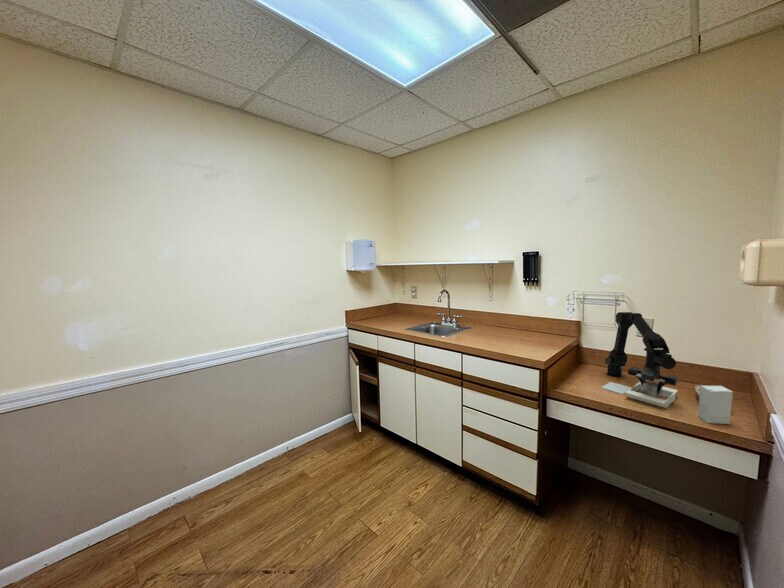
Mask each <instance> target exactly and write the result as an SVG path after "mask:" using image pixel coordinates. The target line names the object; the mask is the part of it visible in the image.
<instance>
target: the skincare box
mask: <svg viewBox="0 0 784 588" xmlns="http://www.w3.org/2000/svg"><path fill="white" fill-rule="evenodd" d="M733 393H734V392H733V391H732V390H730V389H729V388H726V387H725V386H723V385H708V386H700V396H699V398H698V411H697V417H698V418H700V420H702V421H704V422H705V423H707V424H721V425H722V424H723V425H730V424H731V413H732V402H733Z"/></svg>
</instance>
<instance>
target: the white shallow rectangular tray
mask: <svg viewBox="0 0 784 588" xmlns="http://www.w3.org/2000/svg"><path fill="white" fill-rule="evenodd" d="M642 388H643V387H642V385H641V382H640V381H639V382H637V383H636V384H635V385H634V386H631V388H630V389H629V390H628V391H626V392H625V393H624V394H627V397H628V398H631V399H634V400H638V401H640V402H644V403H648V404H651V405H655V406H658V407H661V408H665V409H667V408H668V407H669V406H670V405H671V404H672V403H673V402H675V400H676V393H678V391H679V390H678V389H674V388H671V387H666V386H663V387H662V389H661V394H660V395H659V396H660V397H663V398H666V399H663V398H660V397H653V396H649V395H645V394H642V393H641V392H638V391H642Z"/></svg>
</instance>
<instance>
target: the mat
mask: <svg viewBox="0 0 784 588" xmlns="http://www.w3.org/2000/svg"><path fill="white" fill-rule="evenodd" d="M600 388H601V389H603V390H605V391H610V392H613V393H616V394H620V395H624V394H626V393H625V392H626V391H628V390H629V389H630V388H632V386H627V385H624V384H620V383H616V382H614V381H613V382H612V381H609V382H608V383H606V384H604V385H603V386H601V387H600Z"/></svg>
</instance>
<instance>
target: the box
mask: <svg viewBox="0 0 784 588" xmlns="http://www.w3.org/2000/svg"><path fill="white" fill-rule="evenodd" d="M658 382H659V381H657V380H654V381H649V380H646V382H645V383H643V388H642V394H645V395H649V396H653V397H656V398H659V396H660V394H661V391H660V392H659V394H657V389H658V385H659V384H658Z"/></svg>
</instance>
